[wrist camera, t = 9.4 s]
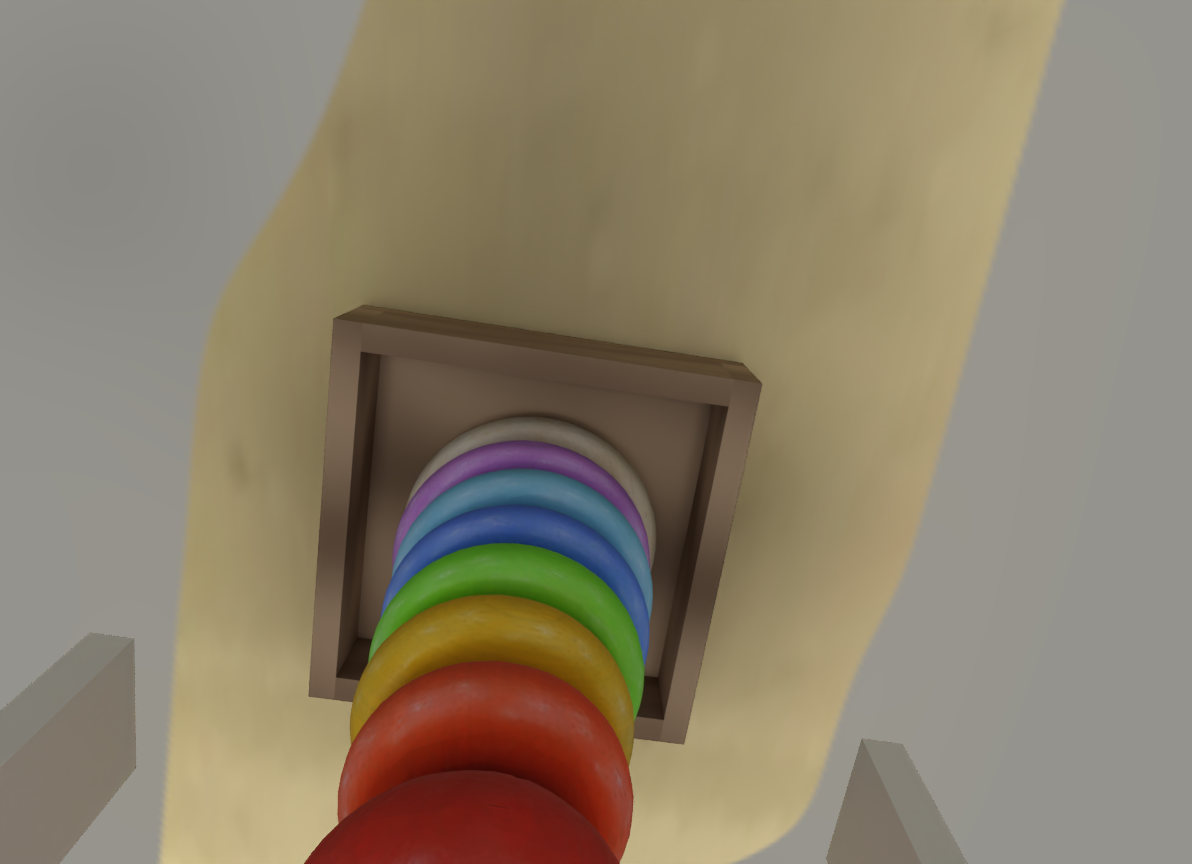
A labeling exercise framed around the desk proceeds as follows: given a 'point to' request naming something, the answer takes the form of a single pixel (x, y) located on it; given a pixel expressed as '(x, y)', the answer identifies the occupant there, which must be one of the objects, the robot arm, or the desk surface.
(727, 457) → the walnut open square tray
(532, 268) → the desk surface
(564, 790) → the stacking toy
